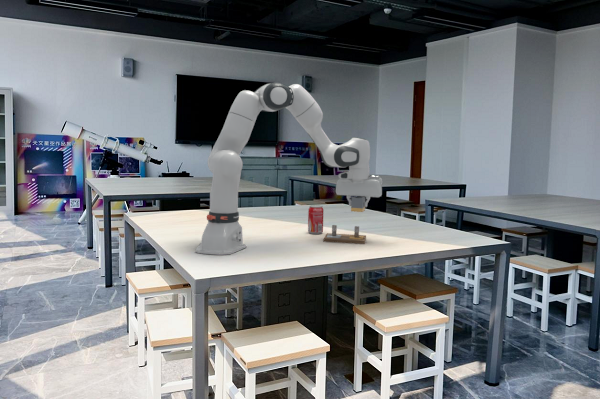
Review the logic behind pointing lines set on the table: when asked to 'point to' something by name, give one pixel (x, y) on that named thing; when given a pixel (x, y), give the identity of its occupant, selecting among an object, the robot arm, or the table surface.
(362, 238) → the pin board
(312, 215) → the soda can
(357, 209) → the sleeve
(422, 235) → the table surface
